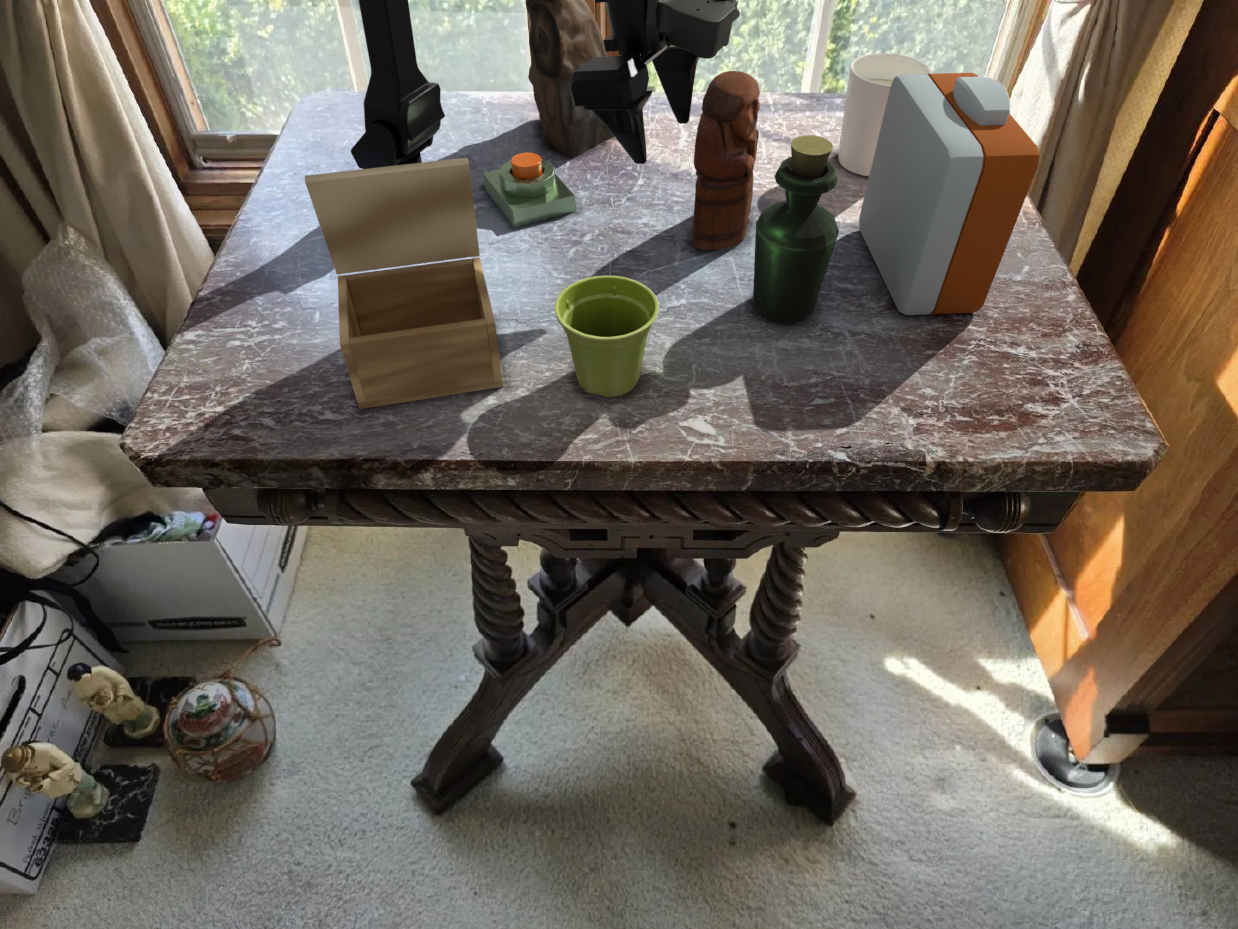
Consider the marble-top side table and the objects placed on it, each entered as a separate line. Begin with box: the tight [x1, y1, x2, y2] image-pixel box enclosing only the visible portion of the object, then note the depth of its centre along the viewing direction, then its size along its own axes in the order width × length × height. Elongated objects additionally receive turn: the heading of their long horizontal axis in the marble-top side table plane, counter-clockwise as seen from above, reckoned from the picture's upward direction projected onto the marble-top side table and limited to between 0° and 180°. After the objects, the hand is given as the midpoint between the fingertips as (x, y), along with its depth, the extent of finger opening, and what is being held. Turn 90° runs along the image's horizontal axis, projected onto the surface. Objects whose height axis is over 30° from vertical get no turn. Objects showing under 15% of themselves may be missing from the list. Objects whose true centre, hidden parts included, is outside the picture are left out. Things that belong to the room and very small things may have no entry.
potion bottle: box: [752, 134, 840, 324], centre depth 84 cm, size 8×8×18 cm
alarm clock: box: [858, 72, 1041, 316], centre depth 88 cm, size 18×9×21 cm, turn 4°
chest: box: [337, 257, 504, 410], centre depth 81 cm, size 11×14×8 cm
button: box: [510, 151, 542, 179], centre depth 102 cm, size 4×4×2 cm
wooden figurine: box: [692, 70, 761, 251], centre depth 94 cm, size 12×6×18 cm, turn 164°
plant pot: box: [554, 275, 660, 398], centre depth 80 cm, size 9×9×9 cm
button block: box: [482, 158, 576, 228], centre depth 104 cm, size 10×8×4 cm
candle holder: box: [837, 52, 933, 177], centre depth 108 cm, size 10×10×12 cm
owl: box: [525, 0, 615, 158], centre depth 110 cm, size 13×13×20 cm
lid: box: [304, 157, 481, 276], centre depth 77 cm, size 12×14×1 cm
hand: (663, 142), depth 84 cm, fingers open, 9 cm apart
